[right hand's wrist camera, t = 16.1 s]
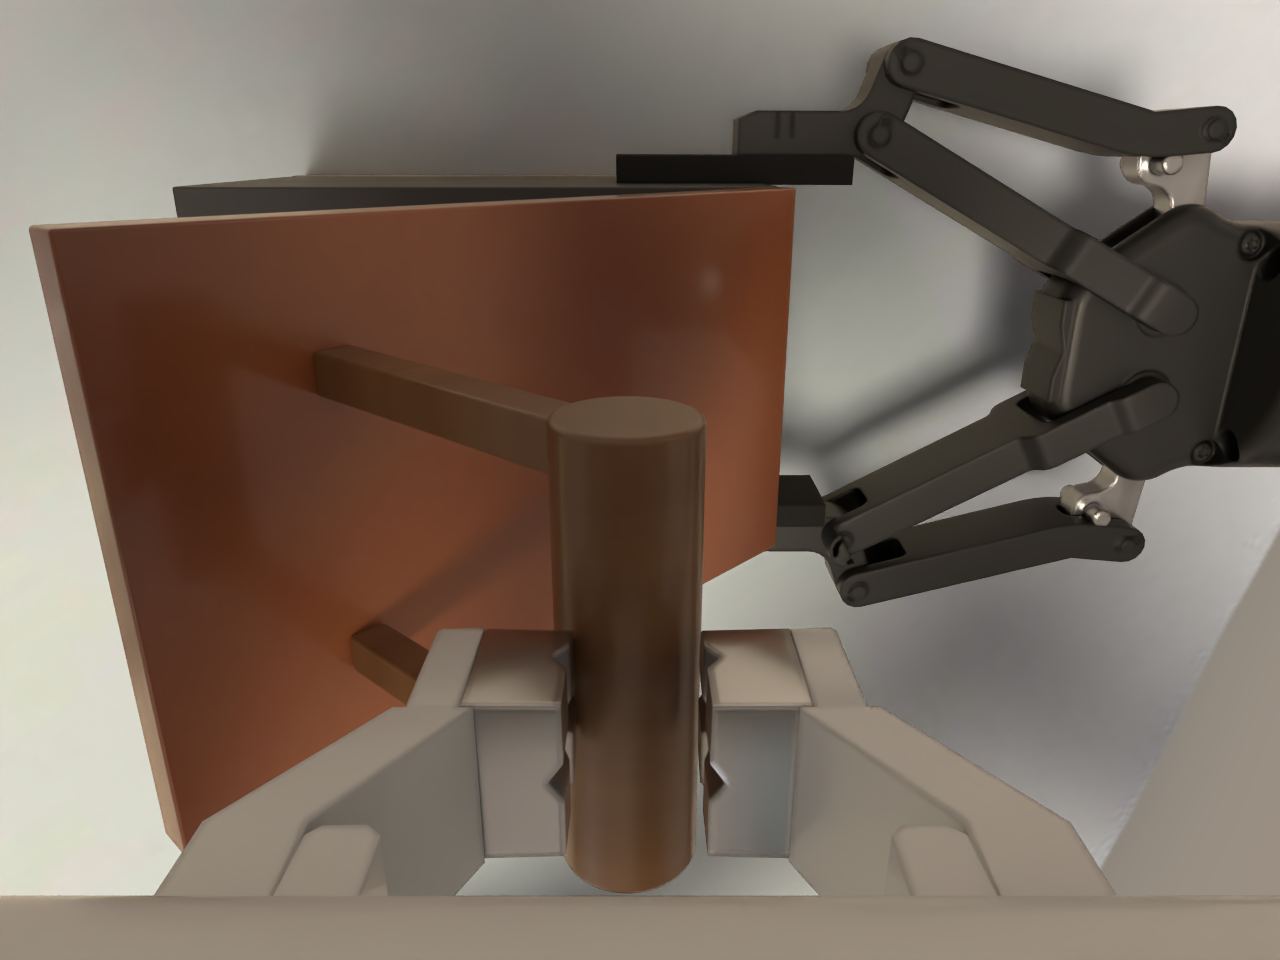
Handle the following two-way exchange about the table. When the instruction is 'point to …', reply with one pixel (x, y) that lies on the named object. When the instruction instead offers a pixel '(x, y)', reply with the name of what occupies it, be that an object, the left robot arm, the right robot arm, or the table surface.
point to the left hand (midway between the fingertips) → (617, 345)
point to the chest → (404, 191)
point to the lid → (427, 470)
